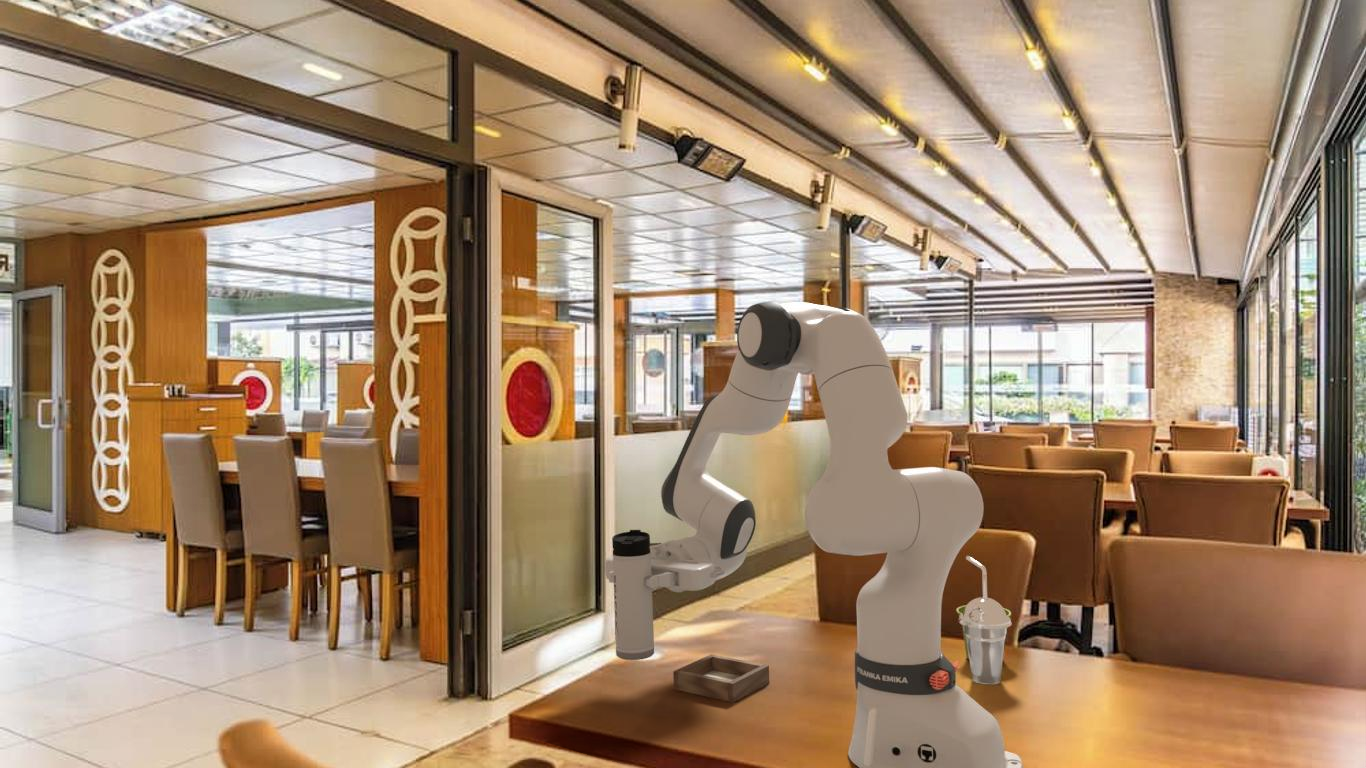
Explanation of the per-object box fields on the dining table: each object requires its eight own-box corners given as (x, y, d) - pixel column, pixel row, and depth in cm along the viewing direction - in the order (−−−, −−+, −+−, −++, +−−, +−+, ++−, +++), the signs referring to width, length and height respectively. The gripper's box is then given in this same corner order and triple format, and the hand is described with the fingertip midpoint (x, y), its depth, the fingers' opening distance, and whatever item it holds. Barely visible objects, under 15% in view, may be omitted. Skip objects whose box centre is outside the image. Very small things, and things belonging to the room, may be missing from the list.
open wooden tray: (769, 683, 158) (768, 665, 158) (733, 702, 149) (732, 683, 149) (711, 671, 165) (710, 654, 165) (673, 689, 156) (673, 671, 156)
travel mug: (658, 649, 155) (654, 529, 155) (649, 661, 149) (644, 536, 149) (622, 648, 157) (618, 529, 157) (611, 660, 150) (607, 536, 150)
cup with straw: (961, 687, 153) (958, 566, 153) (958, 670, 162) (955, 555, 162) (1015, 690, 151) (1012, 567, 151) (1010, 672, 160) (1007, 556, 160)
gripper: (730, 589, 157) (681, 607, 146) (636, 577, 169) (584, 593, 158) (729, 552, 157) (679, 567, 146) (635, 542, 169) (583, 555, 158)
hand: (629, 580), depth 152 cm, fingers closed on travel mug, 6 cm apart
